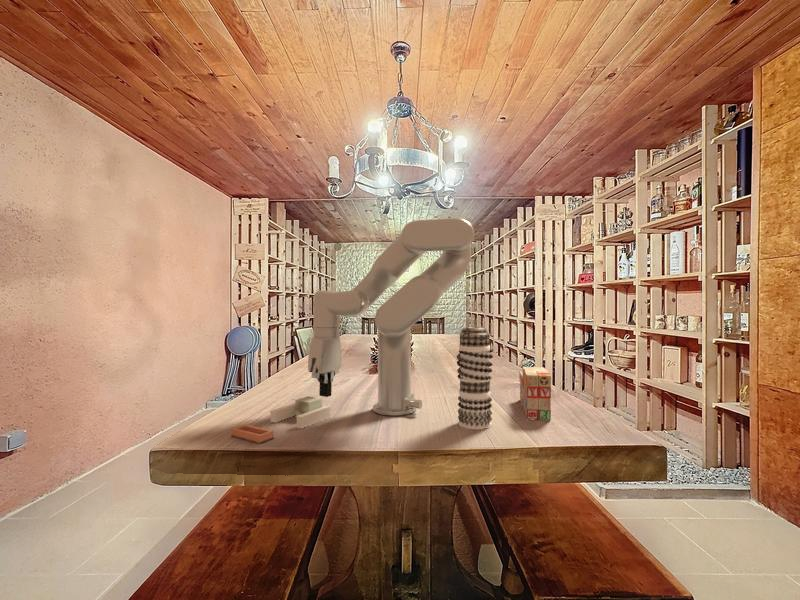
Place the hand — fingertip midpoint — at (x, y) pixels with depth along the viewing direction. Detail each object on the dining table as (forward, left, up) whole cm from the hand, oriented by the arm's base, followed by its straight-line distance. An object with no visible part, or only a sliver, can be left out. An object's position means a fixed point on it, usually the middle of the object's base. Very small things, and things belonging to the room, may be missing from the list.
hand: (325, 395), depth 122 cm
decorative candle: (-43, -9, -4) cm, 44 cm away
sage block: (-1, +8, -4) cm, 9 cm away
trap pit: (-1, +27, -4) cm, 27 cm away
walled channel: (-1, +11, -4) cm, 11 cm away
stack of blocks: (-52, -30, -5) cm, 61 cm away
